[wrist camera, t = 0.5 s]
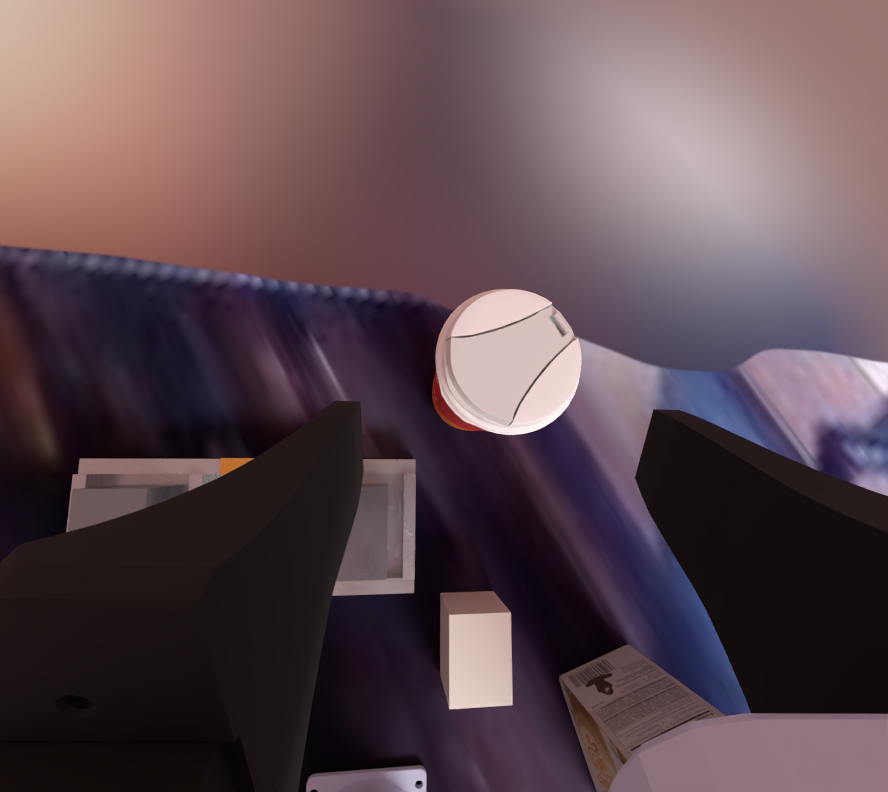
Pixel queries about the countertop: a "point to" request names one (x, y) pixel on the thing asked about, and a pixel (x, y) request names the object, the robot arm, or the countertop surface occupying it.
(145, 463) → the rack
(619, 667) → the coffee box
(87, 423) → the countertop surface
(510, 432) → the paper cup
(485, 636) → the white rectangular carton
